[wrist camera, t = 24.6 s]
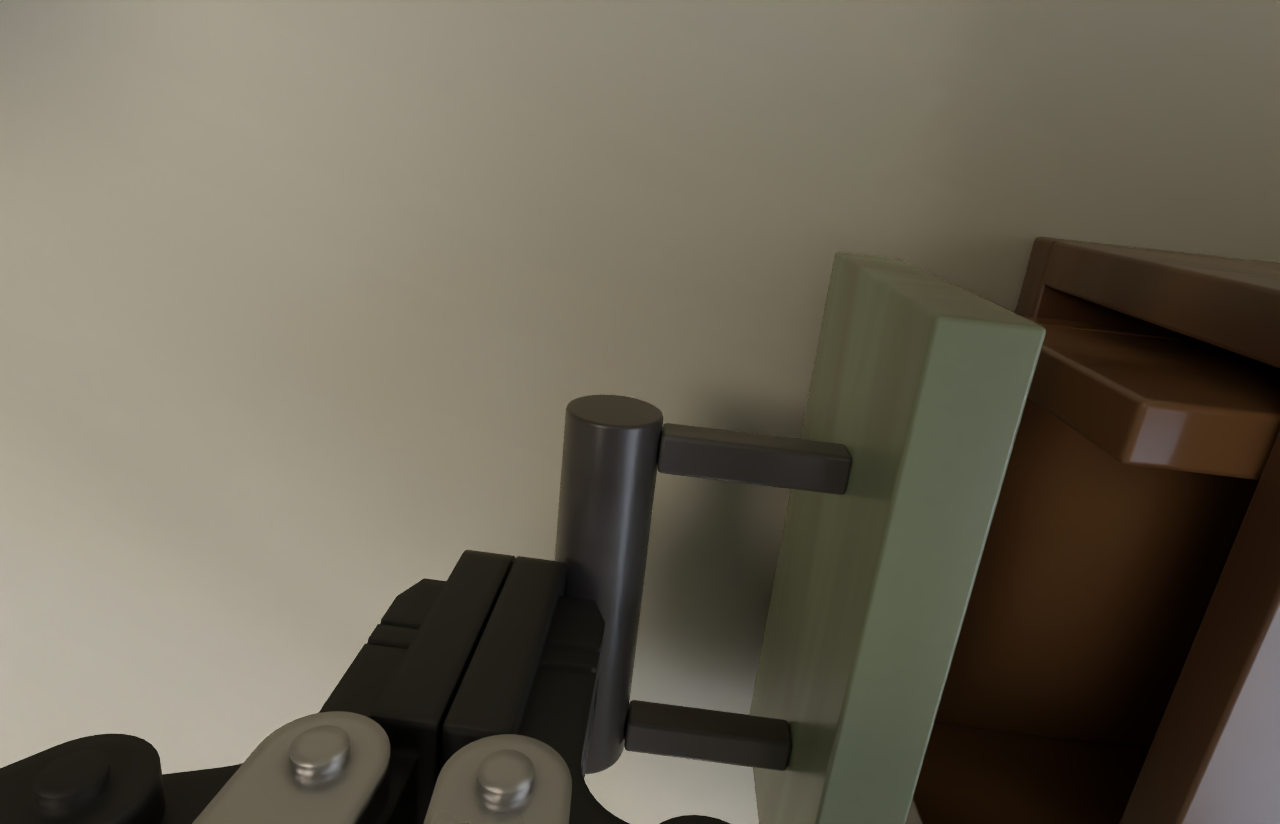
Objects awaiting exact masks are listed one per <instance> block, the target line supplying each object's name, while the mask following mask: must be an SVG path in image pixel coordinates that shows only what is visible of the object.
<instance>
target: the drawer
mask: <svg viewBox="0 0 1280 824" xmlns="http://www.w3.org/2000/svg"><path fill="white" fill-rule="evenodd" d="M662 426H663V427H662ZM1279 431H1280V369H1279V368H1277V367H1274V366H1271V365H1268V364H1265V363H1262V362H1260V361H1257V360H1254V359H1251V358H1248V357H1245V356H1243V355H1240V354H1237V353H1234V352H1231V351H1228V350H1226V349H1223V348H1220V347H1217V346H1214V345H1211V344H1209V343H1206V342H1203V341H1200V340H1197V339H1194V338H1192V337H1189V336H1186V335H1183V334H1180V333H1174V332H1165V331H1156V330H1147V329H1139V328H1130V327H1121V326H1112V325H1103V324H1095V323H1086V322H1077V321H1068V320H1059V319H1051V318H1042V317H1033V316H1024V315H1017V314H1015V313H1013V312H1011V311H1009V310H1007V309H1005V308H1003V307H1000V306H998V305H996V304H994V303H992V302H990V301H988V300H986V299H983V298H981V297H979V296H977V295H975V294H973V293H971V292H969V291H966V290H964V289H962V288H960V287H958V286H956V285H954V284H952V283H949V282H947V281H945V280H943V279H941V278H939V277H937V276H935V275H932V274H930V273H928V272H926V271H924V270H922V269H920V268H918V267H915V266H913V265H911V264H909V263H907V262H905V261H903V260H901V259H896V258H887V257H878V256H870V255H861V254H852V253H843V252H838V253H836V254H835V256H834V261H833V267H832V272H831V278H830V283H829V288H828V294H827V299H826V304H825V310H824V315H823V321H822V326H821V331H820V337H819V342H818V348H817V353H816V358H815V364H814V369H813V374H812V380H811V385H810V391H809V396H808V401H807V407H806V412H805V418H804V423H803V428H802V434H801V439H795V438H787V437H778V436H770V435H762V434H753V433H745V432H736V431H728V430H720V429H711V428H703V427H695V426H686V425H678V424H669V423H667V424H664V425H663V414H662V412H661V411H660V410H659V409H658V408H657V407H655V406H654V405H652V404H650V403H647V402H645V401H642V400H638V399H635V398H630V397H625V396H617V395H591V396H585V397H580V398H577V399H574V400H572V401H571V402H570V403H569V404H568V405H567V407H566V416H565V429H564V442H563V456H562V469H561V482H560V496H559V509H558V522H557V536H556V549H555V561H559V562H565V563H566V581H565V592H564V597H572V598H579V599H587V600H595V602H596V604H597V606H598V608H599V610H600V613H601V615H602V617H603V619H604V621H605V631H604V640H603V650H602V659H601V668H600V677H599V686H598V695H597V704H596V712H595V717H594V723H593V729H592V735H591V741H590V747H589V753H588V759H587V764H586V770H585V774H592V773H597V772H600V771H603V770H605V769H607V768H609V767H610V766H612V765H613V764H614V763H615V762H616V761H617V760H618V759H619V757H620V756H621V754H622V751H623V748H624V746H625V749H626V750H627V751H633V752H641V753H649V754H656V755H664V756H672V757H679V758H687V759H694V760H702V761H710V762H717V763H725V764H732V765H740V766H748V767H753V770H754V780H755V789H756V799H757V809H758V818H759V824H1119V823H1120V820H1121V818H1122V816H1123V813H1124V811H1125V808H1126V806H1127V803H1128V801H1129V798H1130V796H1131V793H1132V791H1133V789H1134V786H1135V784H1136V781H1137V779H1138V776H1139V774H1140V771H1141V769H1142V767H1143V764H1144V762H1145V759H1146V757H1147V754H1148V752H1149V749H1150V747H1151V745H1152V742H1153V740H1154V737H1155V735H1156V732H1157V730H1158V727H1159V725H1160V722H1161V720H1162V718H1163V715H1164V713H1165V710H1166V708H1167V705H1168V703H1169V700H1170V698H1171V696H1172V693H1173V691H1174V688H1175V686H1176V683H1177V681H1178V678H1179V676H1180V674H1181V671H1182V669H1183V666H1184V664H1185V661H1186V659H1187V656H1188V654H1189V651H1190V649H1191V647H1192V644H1193V642H1194V639H1195V637H1196V634H1197V632H1198V629H1199V627H1200V625H1201V622H1202V620H1203V617H1204V615H1205V612H1206V610H1207V607H1208V605H1209V603H1210V600H1211V598H1212V595H1213V593H1214V590H1215V588H1216V585H1217V583H1218V580H1219V578H1220V576H1221V573H1222V571H1223V568H1224V566H1225V563H1226V561H1227V558H1228V556H1229V554H1230V551H1231V549H1232V546H1233V544H1234V541H1235V539H1236V536H1237V534H1238V532H1239V529H1240V527H1241V524H1242V522H1243V519H1244V517H1245V514H1246V512H1247V509H1248V507H1249V505H1250V502H1251V500H1252V497H1253V495H1254V492H1255V490H1256V487H1257V485H1258V483H1259V480H1260V478H1261V475H1262V473H1263V470H1264V468H1265V465H1266V463H1267V461H1268V458H1269V456H1270V453H1271V451H1272V448H1273V446H1274V443H1275V441H1276V438H1277V436H1278V434H1279ZM657 467H658V471H659V472H660V473H665V474H673V475H681V476H689V477H698V478H706V479H714V480H722V481H731V482H739V483H747V484H756V485H764V486H772V487H780V488H789V489H791V493H790V498H789V504H788V509H787V514H786V520H785V525H784V531H783V536H782V541H781V547H780V552H779V558H778V563H777V568H776V574H775V579H774V584H773V590H772V595H771V601H770V606H769V611H768V617H767V622H766V627H765V633H764V638H763V644H762V649H761V654H760V660H759V665H758V671H757V676H756V681H755V687H754V692H753V697H752V703H751V708H750V714H749V715H745V714H737V713H730V712H722V711H714V710H706V709H699V708H691V707H683V706H676V705H668V704H660V703H652V702H645V701H637V700H632V701H631V702H630V703H629V700H630V692H631V683H632V675H633V667H634V658H635V650H636V642H637V633H638V625H639V617H640V608H641V600H642V592H643V584H644V575H645V567H646V559H647V550H648V542H649V534H650V525H651V517H652V509H653V500H654V492H655V484H656V476H657ZM624 741H625V742H624Z"/></svg>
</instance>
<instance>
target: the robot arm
mask: <svg viewBox="0 0 1280 824" xmlns="http://www.w3.org/2000/svg"><path fill="white" fill-rule="evenodd" d="M565 581H566V563H565V562H559V561H551V560H543V559H535V558H528V557H520V556H518V557H517V558H515V556H511V555H503V554H495V553H487V552H480V551H472V550H465V551H464V552H463V554H462V556H461V557H460V559H459V561H458V563H457V564H456V566H455V568H454V569H453V571H452V573H451V575H450V576H449V578H448V580H447V581H439V580H432V579H423V580H421V581H420V582H418V583H416V584H415V585H413V586H412V587H410V588H409V589H407V590H406V591H404V592H403V593H401V594H400V595H398V596H397V597H396V598H395V600H394V601H393V603H392V604H391V606H390V607H389V609H388V610H387V612H386V613H385V615H384V616H383V618H382V619H381V624H378V625H377V627H376V628H375V630H374V631H373V633H372V634H371V636H370V637H369V639H368V643H367V644H365V645H364V646H363V647H362V649H361V650H360V652H359V653H358V655H357V656H356V658H355V659H354V661H353V662H352V664H351V665H350V667H349V668H348V670H347V671H346V673H345V674H344V676H343V677H342V679H341V680H340V682H339V683H338V685H337V686H336V688H335V689H334V691H333V692H332V694H331V695H330V697H329V698H328V700H327V701H326V703H325V704H324V706H323V707H322V709H321V710H320V712H319V713H317V714H312V715H308V716H305V717H302V718H299V719H296V720H294V721H292V722H290V723H288V724H285V725H284V726H282V727H280V728H279V729H277V730H275V731H274V732H273V733H271V734H270V735H269V736H268V737H266V738H265V739H264V740H263V741H262V742H261V743H260V744H259V745H258V746H257V748H256V749H255V750H254V751H253V752H252V753H251V755H250V756H249V757H248V758H247V759H246V761H245V762H244V763H242V764H239V765H233V766H228V767H221V768H213V769H205V770H197V771H189V772H180V773H172V774H164V775H162V772H161V764H160V757H159V755H158V752H157V750H156V749H155V748H154V747H153V746H152V745H151V744H150V743H148V742H147V741H145V740H144V739H141V738H138V737H136V736H131V735H125V734H102V735H94V736H88V737H83V738H79V739H76V740H72V741H69V742H66V743H63V744H60V745H57V746H55V747H52V748H50V749H47V750H45V751H42V752H40V753H37V754H35V755H33V756H30V757H28V758H25V759H23V760H20V761H18V762H15V763H13V764H10V765H8V766H6V767H3V768H1V769H0V824H629V823H627V822H625V821H623V820H621V819H619V818H618V817H616V816H614V815H613V814H611V813H610V812H609V811H607V810H606V809H605V808H604V807H603V806H602V805H601V804H600V803H599V802H598V801H597V800H596V799H595V798H594V796H593V795H592V794H591V793H590V791H589V789H588V787H587V785H586V783H585V781H584V776H585V770H586V764H587V759H588V753H589V747H590V741H591V735H592V729H593V723H594V717H595V712H596V704H597V695H598V686H599V677H600V668H601V659H602V650H603V640H604V631H605V621H604V619H603V617H602V615H601V613H600V610H599V608H598V606H597V604H596V602H595V600H587V599H579V598H572V597H564V592H565ZM660 824H730V823H727V822H725V821H722V820H720V819H716V818H712V817H708V816H699V815H687V816H680V817H675V818H671V819H669V820H666V821H664V822H662V823H660Z"/></svg>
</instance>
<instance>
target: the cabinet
mask: <svg viewBox="0 0 1280 824" xmlns="http://www.w3.org/2000/svg"><path fill="white" fill-rule="evenodd" d="M1015 314H1017V315H1024V316H1033V317H1042V318H1051V319H1059V320H1068V321H1077V322H1086V323H1095V324H1103V325H1112V326H1121V327H1130V328H1139V329H1147V330H1156V331H1165V332H1174V333H1180V334H1183V335H1186V336H1189V337H1192V338H1194V339H1197V340H1200V341H1203V342H1206V343H1209V344H1211V345H1214V346H1217V347H1220V348H1223V349H1226V350H1228V351H1231V352H1234V353H1237V354H1240V355H1243V356H1245V357H1248V358H1251V359H1254V360H1257V361H1260V362H1262V363H1265V364H1268V365H1271V366H1274V367H1277V368H1279V369H1280V263H1273V262H1264V261H1255V260H1246V259H1237V258H1228V257H1219V256H1210V255H1201V254H1192V253H1183V252H1174V251H1165V250H1156V249H1147V248H1138V247H1129V246H1120V245H1111V244H1102V243H1093V242H1083V241H1074V240H1065V239H1056V238H1047V237H1039V238H1036V240H1035V241H1034V245H1033V249H1032V252H1031V256H1030V260H1029V263H1028V267H1027V271H1026V275H1025V278H1024V282H1023V286H1022V289H1021V293H1020V297H1019V300H1018V304H1017V308H1016V312H1015ZM1119 824H1280V431H1279V434H1278V436H1277V438H1276V441H1275V443H1274V446H1273V448H1272V451H1271V453H1270V456H1269V458H1268V461H1267V463H1266V465H1265V468H1264V470H1263V473H1262V475H1261V478H1260V480H1259V483H1258V485H1257V487H1256V490H1255V492H1254V495H1253V497H1252V500H1251V502H1250V505H1249V507H1248V509H1247V512H1246V514H1245V517H1244V519H1243V522H1242V524H1241V527H1240V529H1239V532H1238V534H1237V536H1236V539H1235V541H1234V544H1233V546H1232V549H1231V551H1230V554H1229V556H1228V558H1227V561H1226V563H1225V566H1224V568H1223V571H1222V573H1221V576H1220V578H1219V580H1218V583H1217V585H1216V588H1215V590H1214V593H1213V595H1212V598H1211V600H1210V603H1209V605H1208V607H1207V610H1206V612H1205V615H1204V617H1203V620H1202V622H1201V625H1200V627H1199V629H1198V632H1197V634H1196V637H1195V639H1194V642H1193V644H1192V647H1191V649H1190V651H1189V654H1188V656H1187V659H1186V661H1185V664H1184V666H1183V669H1182V671H1181V674H1180V676H1179V678H1178V681H1177V683H1176V686H1175V688H1174V691H1173V693H1172V696H1171V698H1170V700H1169V703H1168V705H1167V708H1166V710H1165V713H1164V715H1163V718H1162V720H1161V722H1160V725H1159V727H1158V730H1157V732H1156V735H1155V737H1154V740H1153V742H1152V745H1151V747H1150V749H1149V752H1148V754H1147V757H1146V759H1145V762H1144V764H1143V767H1142V769H1141V771H1140V774H1139V776H1138V779H1137V781H1136V784H1135V786H1134V789H1133V791H1132V793H1131V796H1130V798H1129V801H1128V803H1127V806H1126V808H1125V811H1124V813H1123V816H1122V818H1121V820H1120V823H1119Z"/></svg>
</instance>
